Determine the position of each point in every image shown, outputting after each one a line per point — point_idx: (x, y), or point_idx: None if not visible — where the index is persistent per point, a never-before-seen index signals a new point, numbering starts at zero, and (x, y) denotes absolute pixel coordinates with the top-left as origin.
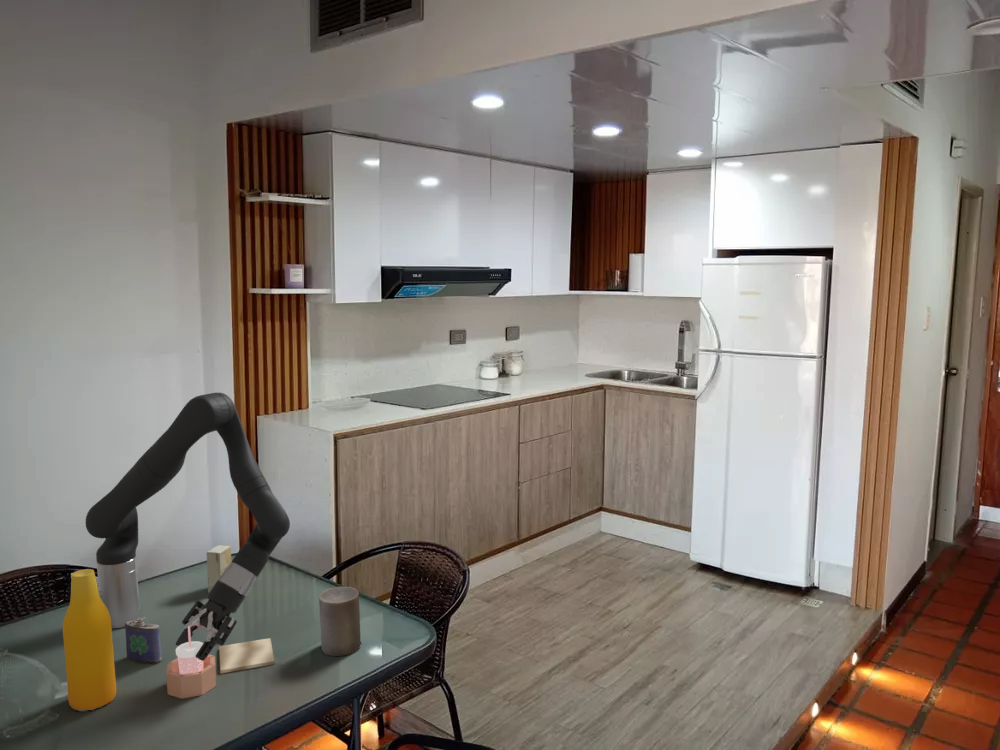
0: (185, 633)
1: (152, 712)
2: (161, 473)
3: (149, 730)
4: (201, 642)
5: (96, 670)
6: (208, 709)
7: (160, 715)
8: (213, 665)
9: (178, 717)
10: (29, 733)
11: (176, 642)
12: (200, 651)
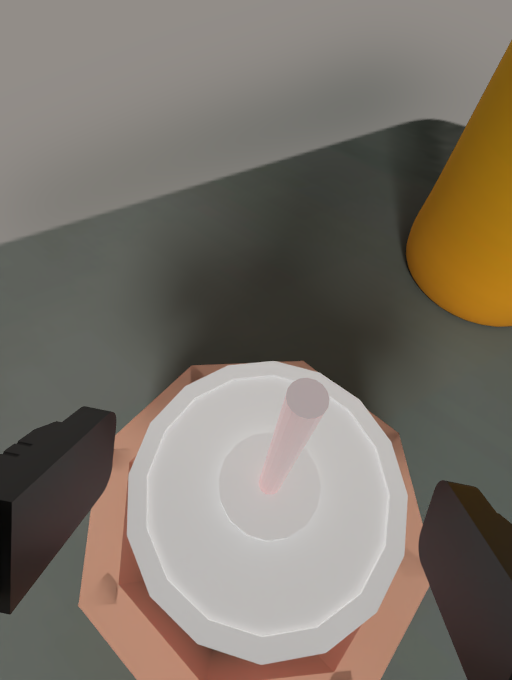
0: (504, 591)
1: (229, 303)
2: None
3: (152, 241)
4: (259, 654)
5: (478, 107)
6: (22, 408)
7: (186, 303)
8: (85, 588)
9: (111, 320)
10: (429, 139)
11: (472, 487)
12: (57, 427)
